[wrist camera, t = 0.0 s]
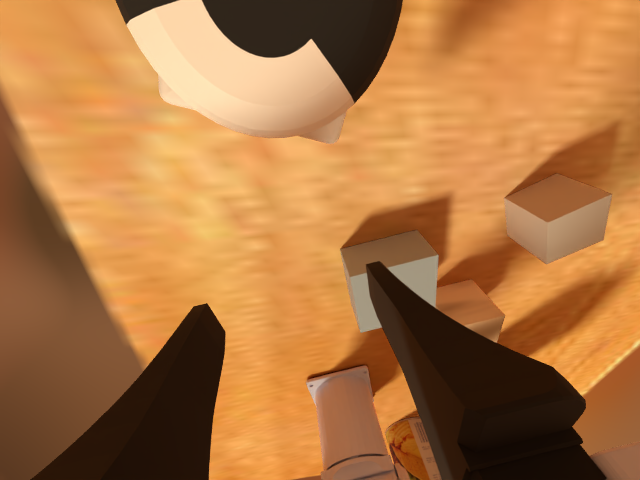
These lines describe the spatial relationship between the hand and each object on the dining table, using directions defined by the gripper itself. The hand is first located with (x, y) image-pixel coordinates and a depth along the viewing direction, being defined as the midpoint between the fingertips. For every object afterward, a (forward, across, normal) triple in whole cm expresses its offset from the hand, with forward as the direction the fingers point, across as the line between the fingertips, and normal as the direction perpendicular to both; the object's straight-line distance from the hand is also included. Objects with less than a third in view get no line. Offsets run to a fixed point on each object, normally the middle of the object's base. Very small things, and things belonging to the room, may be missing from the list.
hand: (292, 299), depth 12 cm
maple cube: (+10, -14, +16) cm, 24 cm away
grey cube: (+10, -21, +6) cm, 24 cm away
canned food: (+10, -9, +47) cm, 49 cm away
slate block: (+10, -7, +9) cm, 15 cm away
